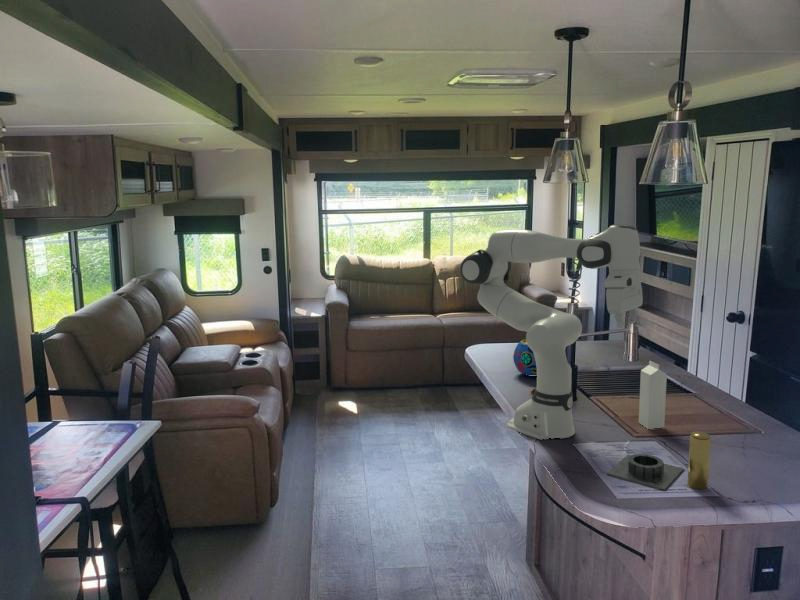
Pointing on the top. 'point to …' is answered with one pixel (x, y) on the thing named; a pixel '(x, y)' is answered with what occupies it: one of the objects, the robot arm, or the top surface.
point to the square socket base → (646, 471)
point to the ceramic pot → (524, 359)
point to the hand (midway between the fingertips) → (626, 325)
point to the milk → (652, 396)
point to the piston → (699, 460)
